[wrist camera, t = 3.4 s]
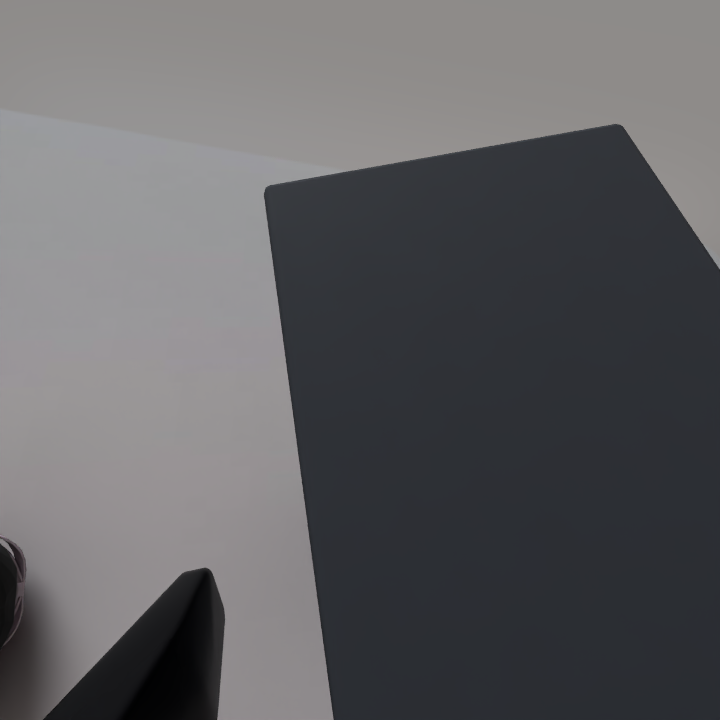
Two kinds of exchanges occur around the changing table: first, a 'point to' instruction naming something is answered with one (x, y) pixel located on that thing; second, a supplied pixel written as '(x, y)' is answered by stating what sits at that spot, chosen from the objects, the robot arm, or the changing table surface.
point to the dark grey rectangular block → (507, 433)
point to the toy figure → (11, 590)
